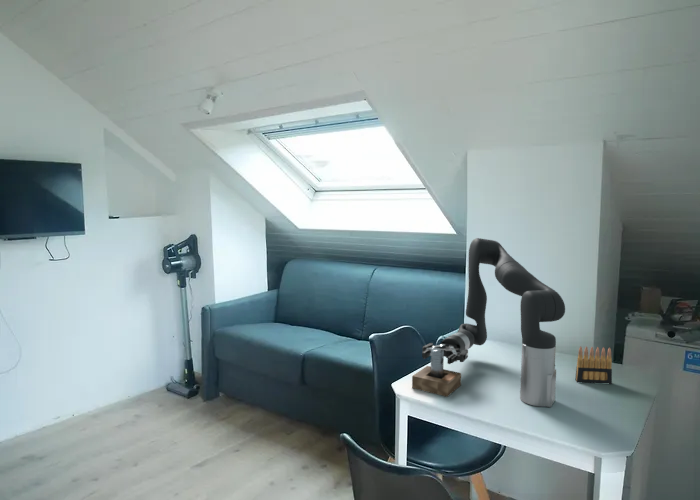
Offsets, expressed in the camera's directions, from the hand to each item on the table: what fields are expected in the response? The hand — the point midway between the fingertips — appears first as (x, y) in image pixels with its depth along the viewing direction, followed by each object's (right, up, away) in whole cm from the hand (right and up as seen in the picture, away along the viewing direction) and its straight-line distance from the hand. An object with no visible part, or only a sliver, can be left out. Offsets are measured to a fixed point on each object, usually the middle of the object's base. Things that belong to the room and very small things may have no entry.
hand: (436, 358), depth 148 cm
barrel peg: (+1, -9, +2) cm, 10 cm away
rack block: (+1, -9, +2) cm, 10 cm away
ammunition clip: (+52, -9, +5) cm, 53 cm away
